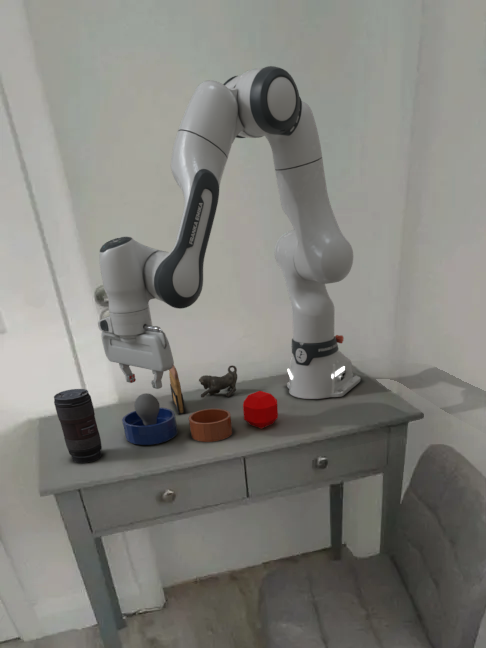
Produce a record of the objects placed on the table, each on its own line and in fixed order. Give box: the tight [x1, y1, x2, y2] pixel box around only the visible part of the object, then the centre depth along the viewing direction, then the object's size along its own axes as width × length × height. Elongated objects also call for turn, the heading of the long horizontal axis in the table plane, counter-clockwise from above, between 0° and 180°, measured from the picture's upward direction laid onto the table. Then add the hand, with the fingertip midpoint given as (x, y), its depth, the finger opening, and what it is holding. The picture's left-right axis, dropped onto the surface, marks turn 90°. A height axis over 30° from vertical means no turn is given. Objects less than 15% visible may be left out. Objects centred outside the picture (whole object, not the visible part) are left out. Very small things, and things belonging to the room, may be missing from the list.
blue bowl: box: [121, 407, 179, 446], centre depth 150 cm, size 13×13×5 cm
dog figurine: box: [198, 365, 238, 399], centre depth 171 cm, size 12×6×7 cm, turn 114°
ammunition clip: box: [168, 364, 186, 415], centre depth 163 cm, size 11×2×12 cm, turn 16°
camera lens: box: [53, 388, 103, 464], centre depth 139 cm, size 8×8×15 cm
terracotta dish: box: [188, 408, 233, 443], centre depth 149 cm, size 10×10×4 cm
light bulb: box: [133, 393, 161, 426], centre depth 148 cm, size 6×6×10 cm
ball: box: [242, 390, 279, 430], centre depth 151 cm, size 8×8×8 cm
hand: (144, 384), depth 144 cm, fingers open, 8 cm apart
